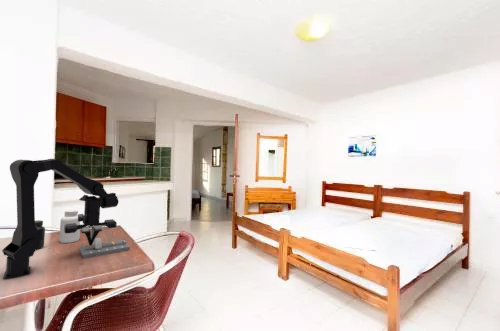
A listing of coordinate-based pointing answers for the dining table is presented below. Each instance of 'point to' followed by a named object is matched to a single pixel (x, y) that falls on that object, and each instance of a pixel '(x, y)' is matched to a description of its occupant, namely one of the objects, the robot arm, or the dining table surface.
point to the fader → (97, 243)
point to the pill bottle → (68, 219)
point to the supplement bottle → (39, 224)
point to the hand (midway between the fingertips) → (90, 245)
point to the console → (104, 249)
